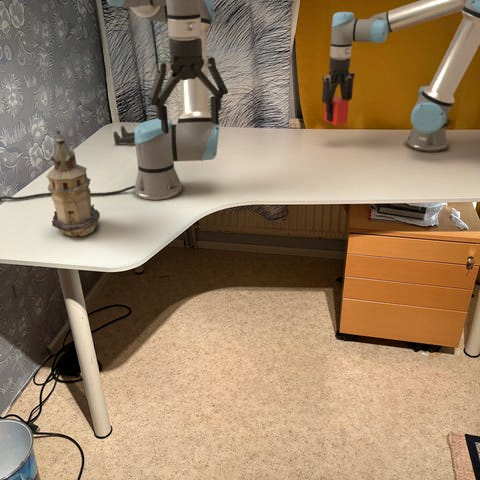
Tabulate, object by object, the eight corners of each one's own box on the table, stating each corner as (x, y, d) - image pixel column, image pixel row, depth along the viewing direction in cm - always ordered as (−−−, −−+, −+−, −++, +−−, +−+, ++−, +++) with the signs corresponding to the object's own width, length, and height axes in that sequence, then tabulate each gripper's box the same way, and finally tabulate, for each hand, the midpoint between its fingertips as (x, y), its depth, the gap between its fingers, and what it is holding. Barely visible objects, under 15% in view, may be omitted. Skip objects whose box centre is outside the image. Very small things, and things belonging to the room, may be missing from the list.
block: (336, 125, 205) (338, 102, 201) (323, 120, 211) (325, 97, 207) (347, 123, 207) (348, 100, 203) (334, 118, 213) (335, 96, 209)
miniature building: (80, 214, 164) (63, 117, 149) (111, 225, 157) (96, 125, 142) (44, 231, 154) (22, 130, 140) (75, 244, 147) (55, 139, 133)
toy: (129, 119, 231) (196, 119, 225) (131, 133, 234) (197, 134, 228) (104, 139, 209) (177, 139, 203) (107, 154, 212) (179, 155, 206)
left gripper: (138, 45, 115) (148, 140, 125) (240, 35, 125) (241, 123, 136) (127, 40, 121) (137, 131, 131) (225, 31, 131) (228, 116, 142)
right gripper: (326, 62, 191) (322, 125, 202) (366, 56, 198) (360, 118, 210) (314, 58, 196) (310, 120, 208) (353, 53, 204) (348, 113, 215)
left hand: (190, 127), depth 134 cm, fingers open, 13 cm apart
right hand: (335, 119), depth 209 cm, fingers closed on block, 5 cm apart
